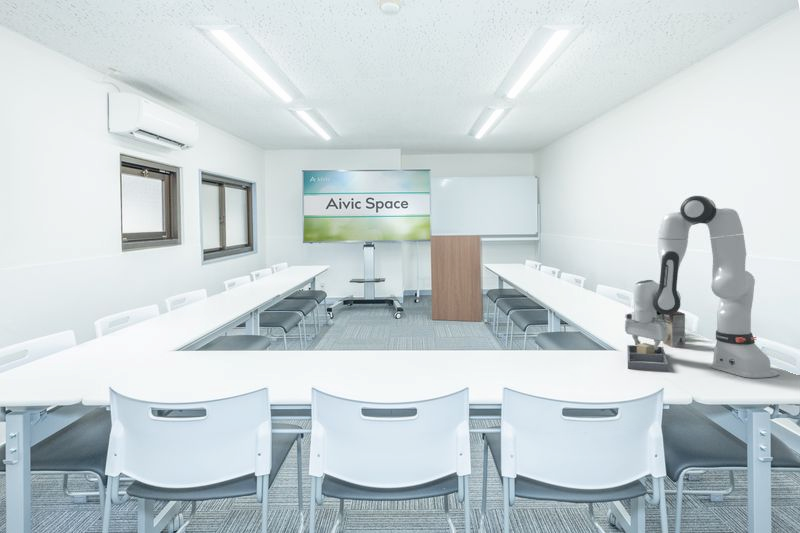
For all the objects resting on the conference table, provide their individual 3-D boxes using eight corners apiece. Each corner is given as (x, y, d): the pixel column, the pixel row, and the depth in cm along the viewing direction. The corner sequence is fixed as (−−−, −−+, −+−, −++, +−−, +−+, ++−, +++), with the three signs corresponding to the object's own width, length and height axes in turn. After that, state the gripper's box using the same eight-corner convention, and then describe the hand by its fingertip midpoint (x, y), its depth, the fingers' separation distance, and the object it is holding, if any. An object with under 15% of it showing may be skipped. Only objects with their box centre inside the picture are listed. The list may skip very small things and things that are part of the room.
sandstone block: (654, 356, 208) (654, 345, 207) (646, 357, 206) (645, 346, 206) (645, 353, 212) (645, 343, 212) (636, 355, 211) (636, 344, 210)
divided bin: (668, 371, 187) (668, 364, 187) (627, 368, 193) (627, 361, 193) (663, 353, 212) (663, 346, 212) (627, 351, 219) (627, 345, 219)
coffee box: (661, 342, 230) (661, 310, 229) (675, 342, 230) (674, 310, 229) (672, 347, 221) (671, 314, 220) (686, 346, 221) (685, 313, 220)
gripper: (671, 319, 199) (672, 350, 200) (632, 312, 218) (633, 341, 219) (660, 320, 197) (661, 353, 197) (622, 314, 216) (623, 343, 217)
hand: (646, 347), depth 208 cm, fingers open, 8 cm apart
